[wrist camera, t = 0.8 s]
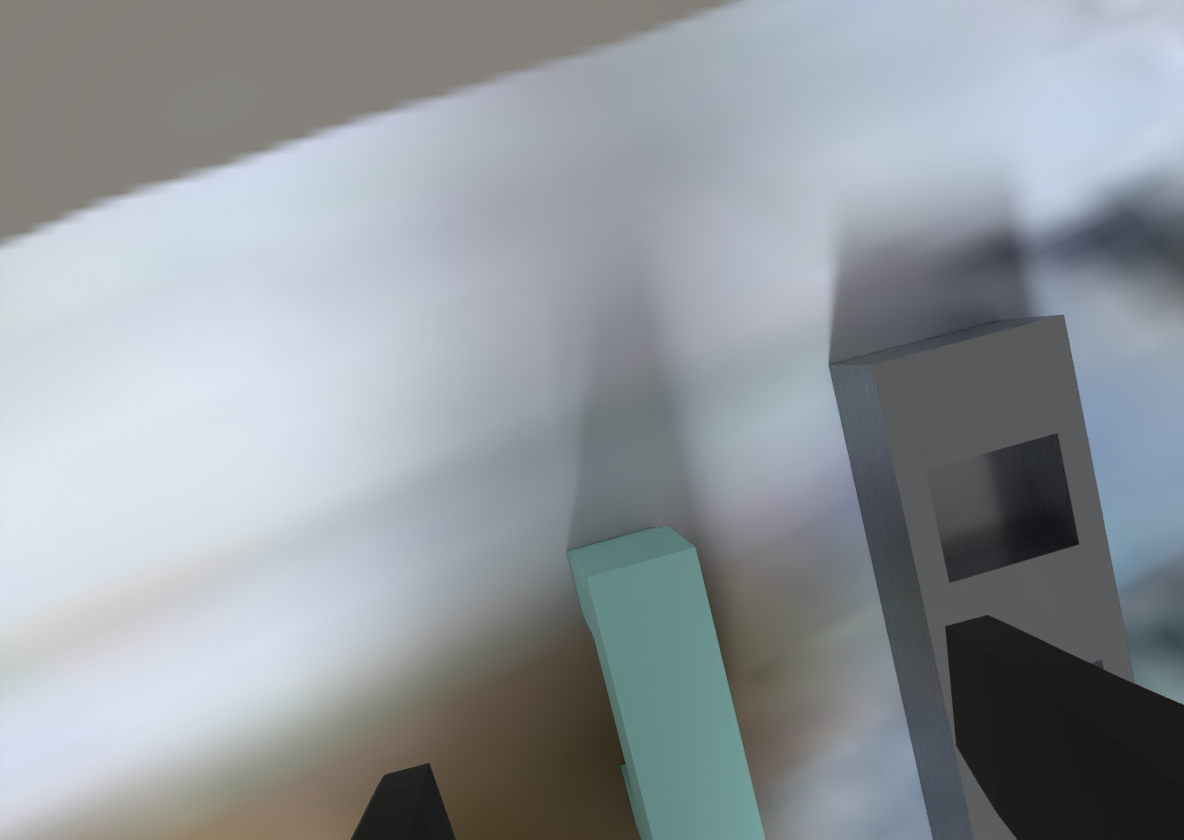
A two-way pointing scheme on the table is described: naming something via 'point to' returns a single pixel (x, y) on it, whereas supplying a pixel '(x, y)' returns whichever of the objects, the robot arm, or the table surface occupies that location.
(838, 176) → the table surface
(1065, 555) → the rail
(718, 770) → the teal rectangular block
